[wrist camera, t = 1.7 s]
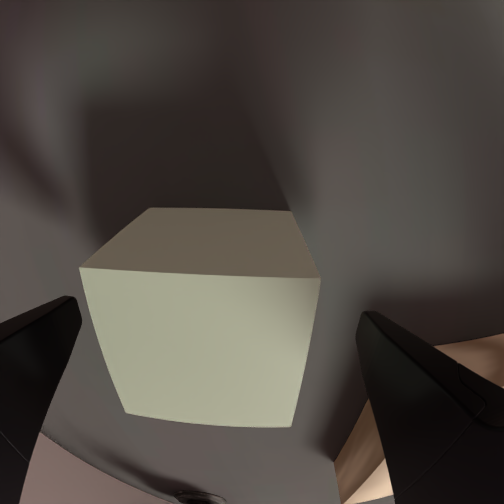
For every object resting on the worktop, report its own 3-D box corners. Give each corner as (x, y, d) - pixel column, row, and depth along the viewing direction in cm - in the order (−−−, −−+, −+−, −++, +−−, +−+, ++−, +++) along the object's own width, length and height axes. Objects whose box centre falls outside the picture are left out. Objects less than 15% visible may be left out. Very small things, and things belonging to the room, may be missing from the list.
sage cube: (291, 210, 10) (321, 278, 6) (280, 328, 12) (290, 426, 7) (150, 207, 10) (79, 267, 6) (162, 321, 12) (126, 412, 7)
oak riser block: (523, 328, 13) (554, 362, 9) (455, 434, 17) (469, 466, 14) (388, 351, 13) (418, 412, 9) (333, 462, 17) (341, 505, 14)
